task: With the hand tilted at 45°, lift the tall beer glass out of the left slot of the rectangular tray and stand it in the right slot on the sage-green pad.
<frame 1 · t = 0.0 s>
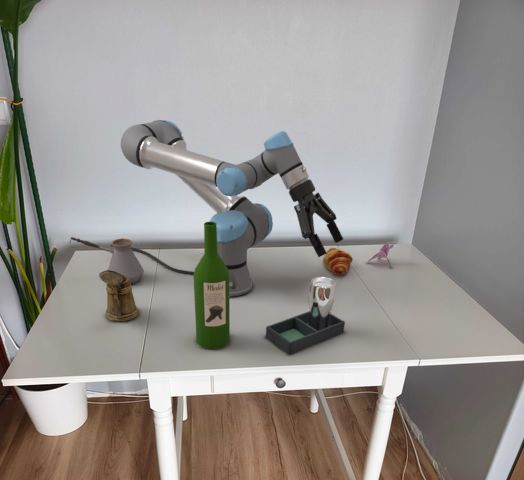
hand: (331, 248, 153), 15 cm above the table, tool tilted 35°, fingers open, 13 cm apart
beer glass: (317, 330, 141), resting in rectangular tray
croissant: (337, 267, 179), on the table
wine bottle: (213, 341, 135), on the table
wooden mug: (121, 318, 143), on the table
rectangular tray: (305, 335, 139), on the table
coffee pot: (111, 280, 164), on the table
lily: (381, 264, 182), on the table
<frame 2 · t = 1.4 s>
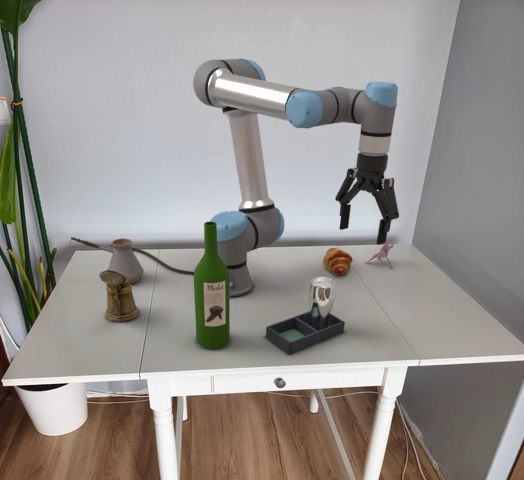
hand: (361, 236, 135), 25 cm above the table, tool pointing down, fingers open, 13 cm apart
nothing on the table moved.
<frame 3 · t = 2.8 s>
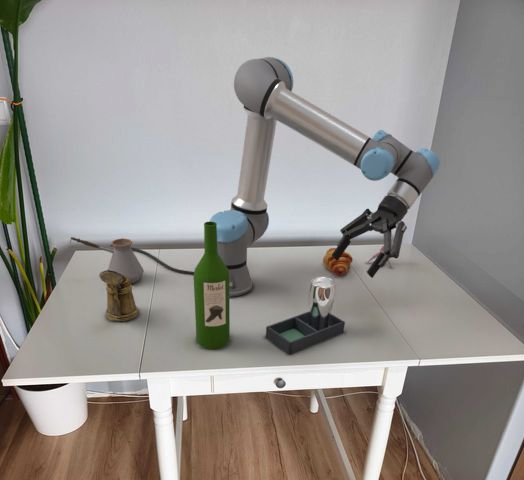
hand: (351, 266, 137), 17 cm above the table, tool tilted 45°, fingers open, 13 cm apart
nothing on the table moved.
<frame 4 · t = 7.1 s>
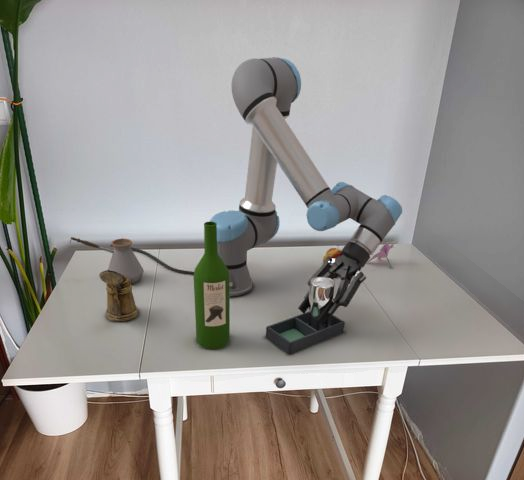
hand: (310, 316, 136), 5 cm above the table, tool tilted 45°, fingers closed on beer glass, 7 cm apart
beer glass: (317, 330, 141), resting in rectangular tray, touching gripper
everything else where it was.
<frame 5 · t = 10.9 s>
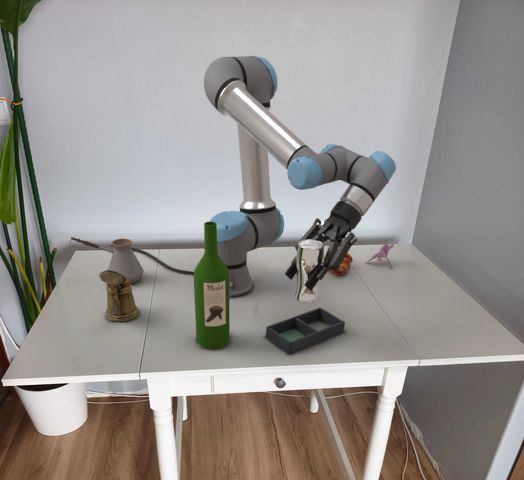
hand: (297, 282, 127), 17 cm above the table, tool tilted 45°, fingers closed on beer glass, 7 cm apart
beer glass: (306, 298, 132), point 12 cm above the table, touching gripper
everything else where it was.
when the fingers open (6 cm above the table, at t = 14.9 s): beer glass stays where it is, resting on rectangular tray.
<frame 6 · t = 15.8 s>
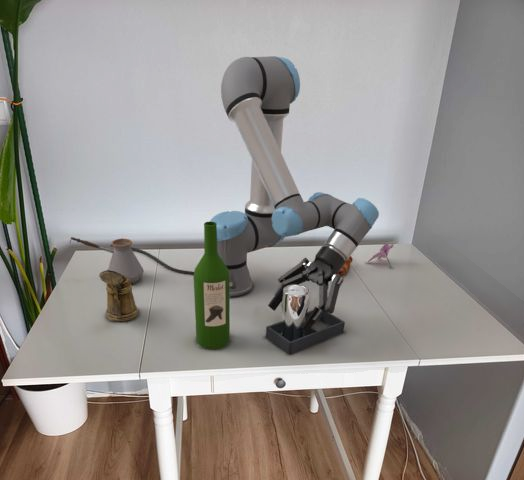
hand: (286, 318, 131), 7 cm above the table, tool tilted 45°, fingers open, 13 cm apart
beer glass: (292, 340, 136), resting on rectangular tray
everything else where it was.
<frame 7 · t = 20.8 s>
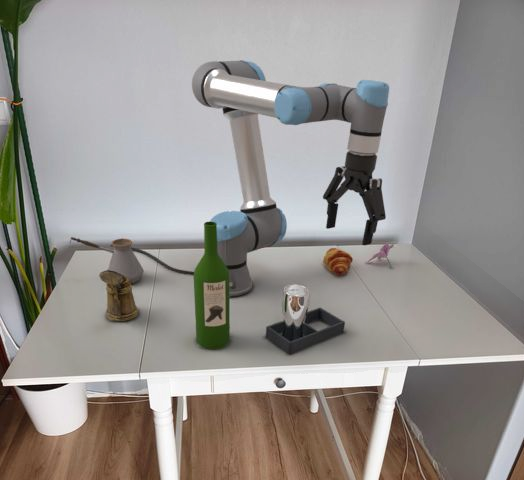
hand: (347, 235, 134), 25 cm above the table, tool pointing down, fingers open, 13 cm apart
nothing on the table moved.
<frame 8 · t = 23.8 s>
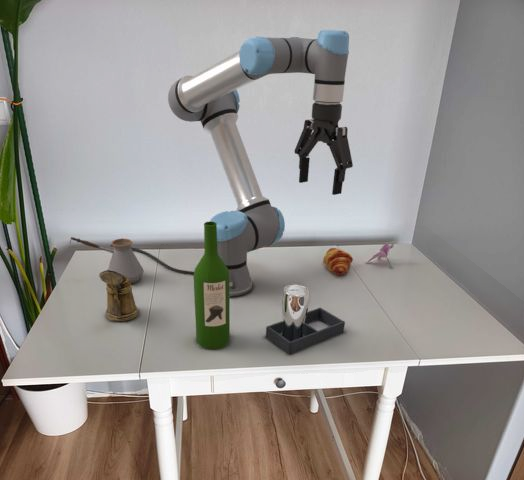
hand: (319, 187, 138), 35 cm above the table, tool pointing down, fingers open, 13 cm apart
nothing on the table moved.
at the end: beer glass 0.1 cm from the target spot on the rectangular tray, point 0.0 cm above the rectangular tray's base; beer glass tilted 0°; the gripper is holding nothing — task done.
